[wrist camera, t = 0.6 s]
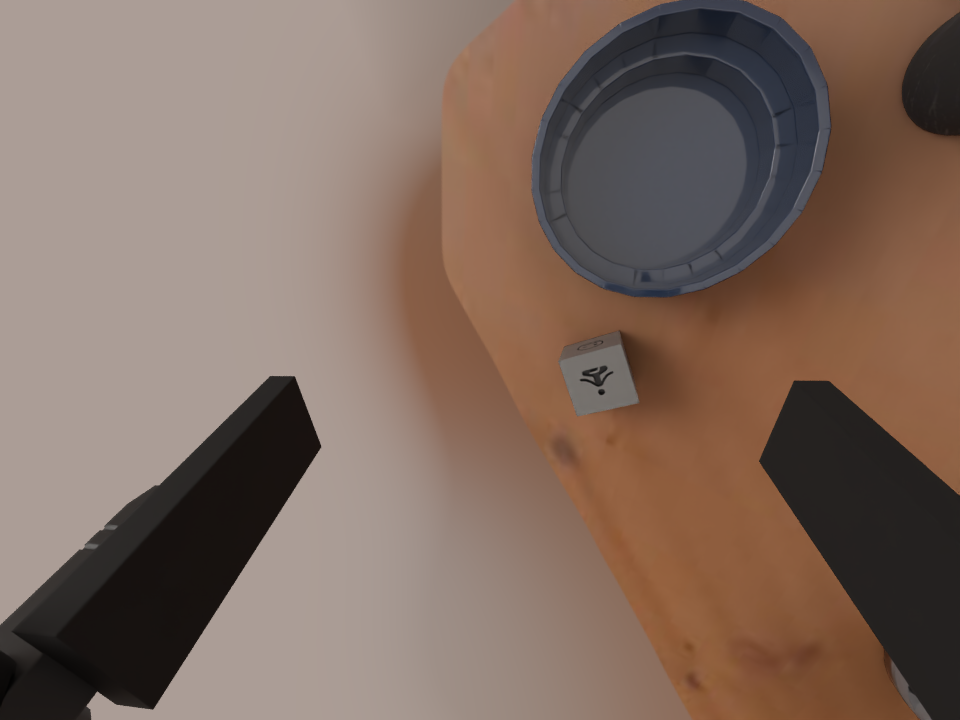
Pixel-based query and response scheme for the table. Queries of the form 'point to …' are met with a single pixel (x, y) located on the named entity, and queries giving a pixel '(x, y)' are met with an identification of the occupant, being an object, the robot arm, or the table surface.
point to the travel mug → (935, 81)
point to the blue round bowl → (681, 147)
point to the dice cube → (598, 374)
